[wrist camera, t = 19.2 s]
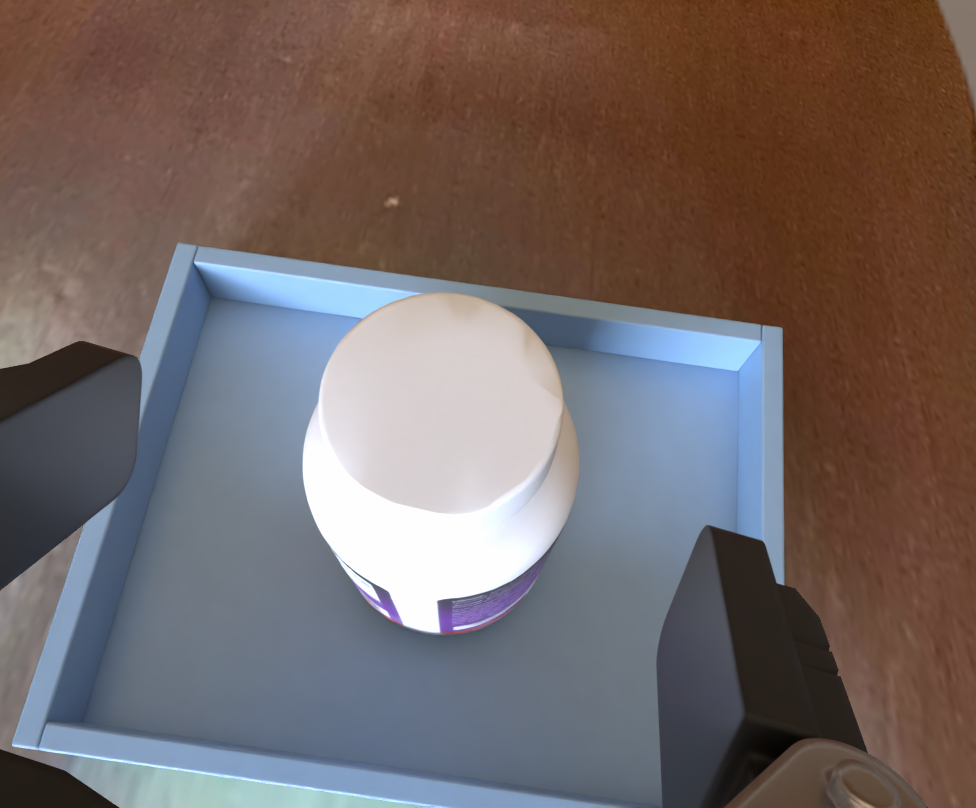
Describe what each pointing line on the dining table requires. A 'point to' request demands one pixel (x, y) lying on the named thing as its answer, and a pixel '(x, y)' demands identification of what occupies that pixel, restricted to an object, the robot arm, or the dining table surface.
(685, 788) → the robot arm
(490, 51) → the dining table surface
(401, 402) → the pill bottle
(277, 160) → the dining table surface
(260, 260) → the tray
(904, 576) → the dining table surface
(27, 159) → the dining table surface
